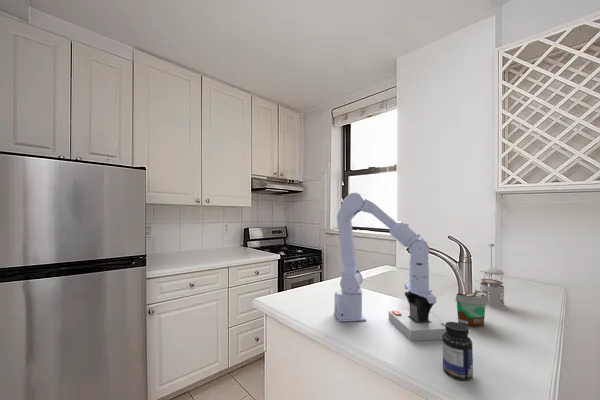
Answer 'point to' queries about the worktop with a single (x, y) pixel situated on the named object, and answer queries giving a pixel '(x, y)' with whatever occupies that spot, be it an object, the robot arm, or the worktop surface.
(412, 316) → the plug
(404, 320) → the socket plate
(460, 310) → the food container
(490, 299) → the french press
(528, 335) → the worktop surface
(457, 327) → the pill bottle
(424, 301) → the robot arm
